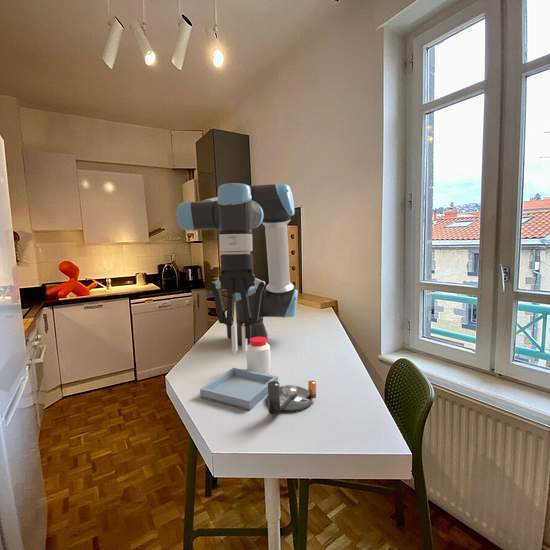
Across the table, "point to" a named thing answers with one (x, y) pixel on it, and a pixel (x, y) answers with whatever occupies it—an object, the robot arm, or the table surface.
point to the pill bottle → (259, 355)
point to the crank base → (300, 398)
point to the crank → (274, 396)
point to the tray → (238, 388)
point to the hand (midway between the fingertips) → (240, 351)
